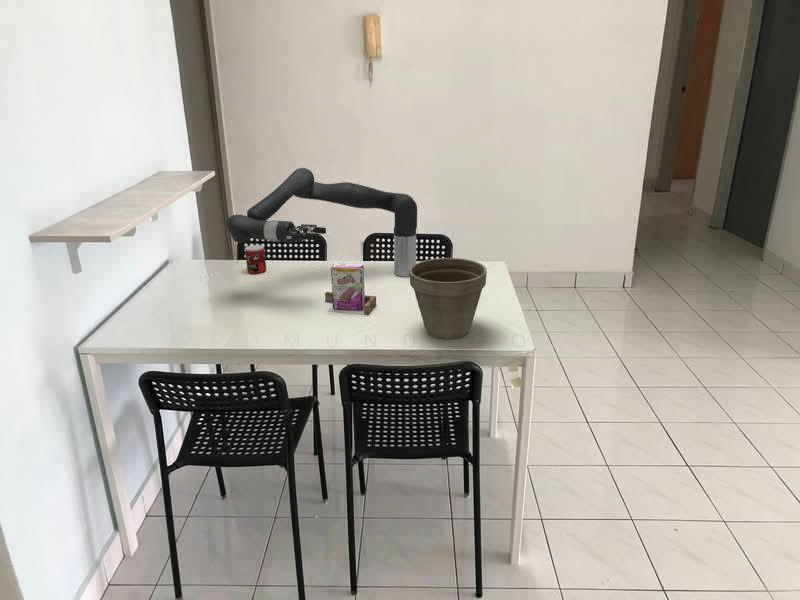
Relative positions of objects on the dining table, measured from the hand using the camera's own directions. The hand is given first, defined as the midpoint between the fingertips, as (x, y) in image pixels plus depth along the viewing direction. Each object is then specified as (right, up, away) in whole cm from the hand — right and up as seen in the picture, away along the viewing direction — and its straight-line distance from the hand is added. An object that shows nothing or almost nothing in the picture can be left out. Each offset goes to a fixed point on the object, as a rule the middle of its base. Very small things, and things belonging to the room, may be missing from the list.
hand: (321, 233), depth 214 cm
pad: (+10, -27, +6) cm, 29 cm away
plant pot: (+44, -34, -13) cm, 57 cm away
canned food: (-34, -11, +46) cm, 58 cm away
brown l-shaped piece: (+9, -26, +7) cm, 28 cm away
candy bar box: (+9, -27, +6) cm, 29 cm away
